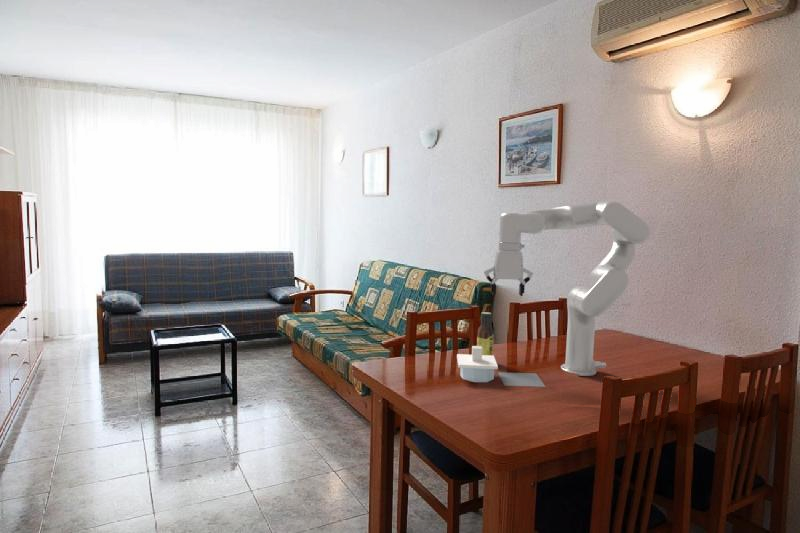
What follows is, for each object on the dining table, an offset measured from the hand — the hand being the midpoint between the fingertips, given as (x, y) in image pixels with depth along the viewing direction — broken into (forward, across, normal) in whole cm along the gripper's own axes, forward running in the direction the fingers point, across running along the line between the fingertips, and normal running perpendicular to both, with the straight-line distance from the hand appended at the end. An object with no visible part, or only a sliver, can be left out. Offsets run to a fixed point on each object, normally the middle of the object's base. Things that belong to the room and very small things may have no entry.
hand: (507, 295), depth 190 cm
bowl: (+28, +11, +10) cm, 32 cm away
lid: (+22, +11, +10) cm, 27 cm away
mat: (+28, -4, +11) cm, 31 cm away
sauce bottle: (+28, +6, -8) cm, 30 cm away
